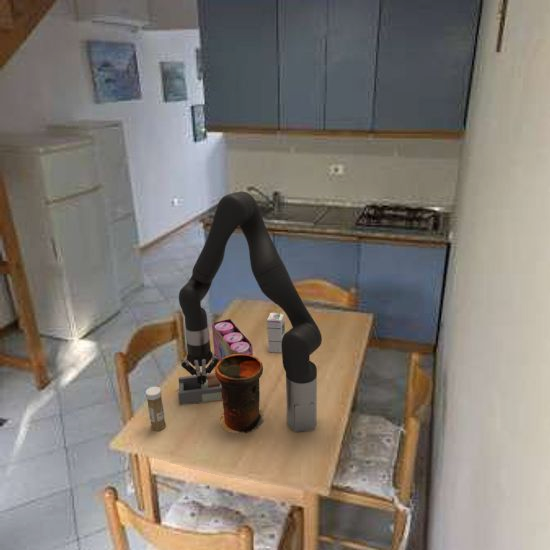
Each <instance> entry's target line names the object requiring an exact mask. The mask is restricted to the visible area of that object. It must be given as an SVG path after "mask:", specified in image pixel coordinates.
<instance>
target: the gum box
mask: <svg viewBox="0 0 550 550" xmlns="http://www.w3.org/2000/svg"><path fill="white" fill-rule="evenodd" d="M211 331H212V339H213V340H212V342H213V350H214V351H213V352H214V356H218V357H219V361H220V360H222V359H223V358H224V357H226V356H229V355H233V354H248V355H251V356H254V351H253V344H252V343H251V341H250V340H249V338H248V337H247V336H246V335H245V334H243V332H242V331H241V330H240V329H239V328H238V327H237V325H236V324H235V323H234V322H233V320H232V319H231V318H229V319H228V318H227V319H224V320H220V321H214V322H212V323H211Z"/></svg>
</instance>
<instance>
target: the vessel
mask: <svg viewBox="0 0 550 550" xmlns="http://www.w3.org/2000/svg"><path fill="white" fill-rule="evenodd" d="M263 370H264V366H263V363H262V362H261V360H260V359H259V358H258V357H257V356H255V355H253V356H251V355H248V354H233V355H229V356H226V357H224V358H223V359H222V360H220V361H219V362H218V363H217V365H216V366H215V368H214V373H215V375H216V378H217V379H218V380H219V381H220V384H221V386H222V388H221V393H222V400H221V401H222V408H223V413H222V414H221V415H222V416H219V419H220V421H221V422H220V425H221V426H223V429H224V430H225V431H226V432H230V433H233V434H237V433H238V434H241V433H245V434H247V433H251V432H253V431H256V430H258V428H259V427H260V426H261V425H262V424H263V423H264V421H265V418H263V416H264V414H263V410H262V409H260V402H261V400H260V399H261V398H260V397H261V396H260V394H261V393H260V378H261V377H262V375H263V373H264V371H263Z"/></svg>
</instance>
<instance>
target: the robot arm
mask: <svg viewBox="0 0 550 550" xmlns="http://www.w3.org/2000/svg"><path fill="white" fill-rule="evenodd" d="M238 227H239V228H240V230H241V232H242V233H243V235H244V237H245V240H246V243H247V247H248V253H249V255H248V256H249V261H250V268H251V271H252V275H253V277H254V279H255V281H256V283H257V285H258V287H259V289H260V290H261V292H262V293H263V295H265V297H267V298H268V299H269V300H270V301H272V303H274V304H276V305H277V306H278V307H279V308H280V309H281V310H282V311H283V312H284V314H286V317H287V318H288V320H289V322H290V325H291V326H292V327H291V328H290V329H289V330H288V331H285V334H284V336H283V338H282V344H281V346H282V353H281V357H282V367H283V370H284V371H285V391H286V393H285V394H286V396H285V397H286V398H285V399H286V402H285V403H286V423H287V425H288V427H289V428H291V429H292V430H294V433H299V432H307V431H313V430H315V429H316V425H317V412H318V410H317V405H318V402H317V401H318V399H317V397H318V396H317V394H318V393H317V392H318V391H317V390H318V388H317V387H318V386H317V385H318V369H317V366H316V364H315V363H314V362H313V361H311V360H310V359H311V358H310V357H311V355H312V354H313V353H314V352H316V351H317V349H319V347H320V346H321V345H322V341H323V339H322V333H321V331H320V328H319V327H318V325H317V323H316V322H315V320H314V318H313V316H312V315H311V313H310V311H309V310H308V309H307V307H306V305H305V303H304V302H303V300H302V298H301V296H300V294H299V292H298V291H297V289H296V286H295V285H294V282H293V281H292V279H291V276H290V274H289V272H288V270H287V268H286V266H285V264H284V261H283V260H282V258H281V256H280V255H279V252H278V250H277V247H276V245H275V244H274V242H273V240H272V238H271V236H270V234H269V231H268V229H267V227H266V225H265V221H264V219H263V216H262V213H261V211H260V208H259V205H258V203H257V201H256V199H255V197H253V196H252V194H251V193H250V192H246V191H236V192H232V193H229V194H226V195H224V196H223V197H222V198H221V199H220V200H219V202H218V204H217V206H216V209H215V213H214V216H213V219H212V223H211V227H210V230H209V231H208V232H209V233H208V235H207V238H206V241H205V243H204V245H203V247H202V250H201V252H200V254H199V256H198V257H197V260H196V261H195V263H194V265H193V269H192V270H191V273H192V274H191V276H190V279H189V280H188V281H187V282H186V283H185V284H184V286H183V287H182V288H181V289H180V291H179V293H178V302H179V306H180V308H181V313H182V314H183V317H184V324H185V326H184V327H185V339H186V340H185V343H186V350H187V354H186V358H185V359H181V362H180V366H181V367H182V368H183V369H185V370H186V371H187V372H188V373H189V374H190V376H194V375H197V380H198V384H199V383H200V385H204V383H206V374H211V373H213V372H212V371H213V370H215V368H216V365H217V363H218V362H219V357H218V356H216V355H215V354H213V352H212V349H211V340H210V339H211V337H210V336H211V335H210V330H209V325H208V314H207V310H205V308H204V307H202V305H201V303H202V301H203V299H204V298H205V297H206V296H207V294H208V293H209V290H210V288H211V285H212V283H213V280H214V278H215V277H216V275H217V273H218V272H219V269H220V268H221V266H222V264H223V261H224V258H225V252H226V247H227V243H228V242H229V239H230V237H231V236H232V235H233V234H234V232H235V231H236V230H237V229H238ZM206 366H207V367H206ZM194 367H195V368H194Z"/></svg>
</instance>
